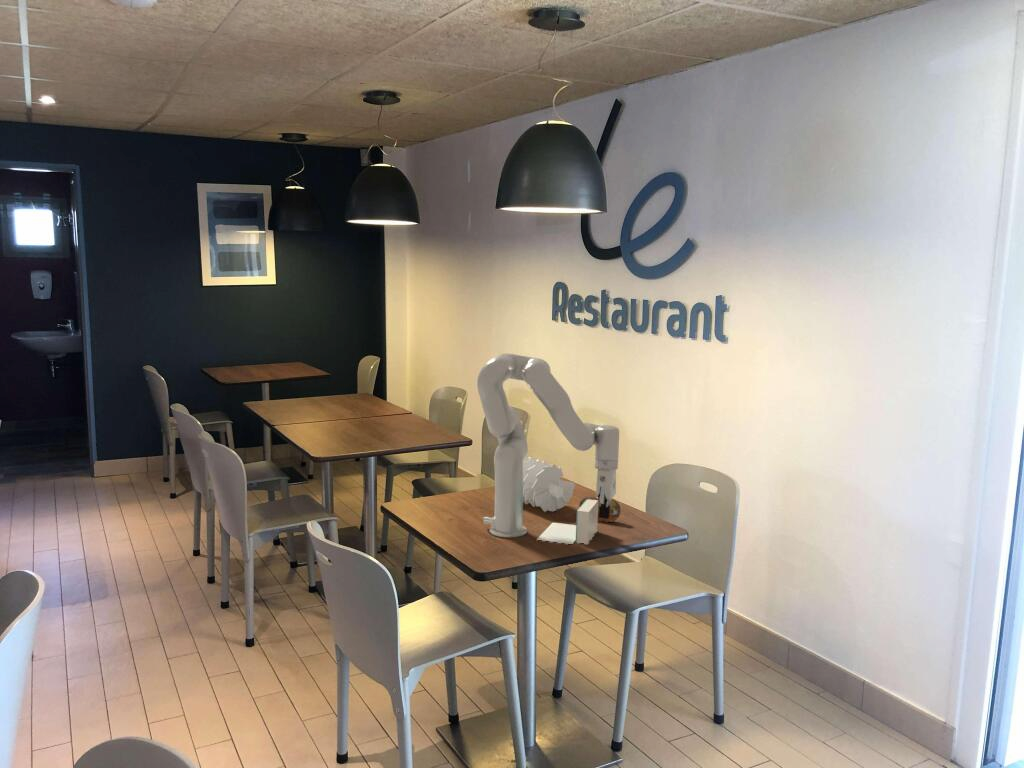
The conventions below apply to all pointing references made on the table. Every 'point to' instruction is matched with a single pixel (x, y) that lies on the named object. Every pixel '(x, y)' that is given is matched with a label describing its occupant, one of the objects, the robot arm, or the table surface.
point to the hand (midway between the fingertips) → (604, 517)
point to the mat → (559, 533)
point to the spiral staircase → (545, 485)
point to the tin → (613, 509)
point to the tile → (586, 521)
